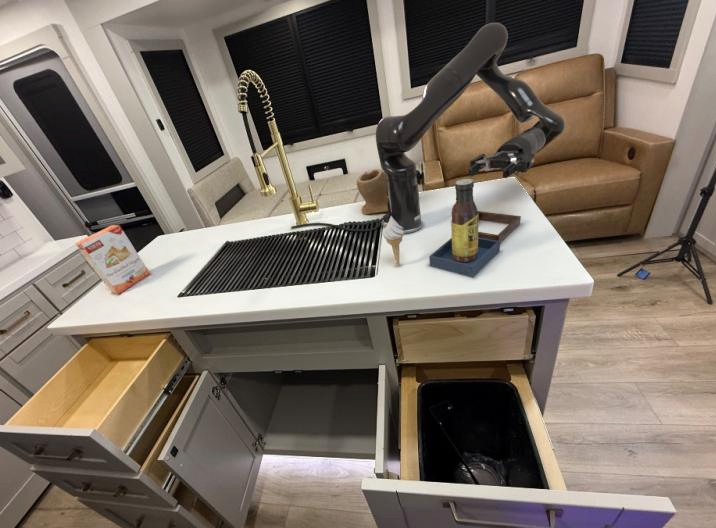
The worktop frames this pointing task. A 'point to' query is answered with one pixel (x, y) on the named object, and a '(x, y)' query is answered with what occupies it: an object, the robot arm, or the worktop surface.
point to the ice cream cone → (394, 237)
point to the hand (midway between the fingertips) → (486, 173)
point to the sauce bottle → (464, 223)
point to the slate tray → (446, 262)
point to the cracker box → (113, 258)
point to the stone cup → (373, 191)
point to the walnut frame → (500, 218)
